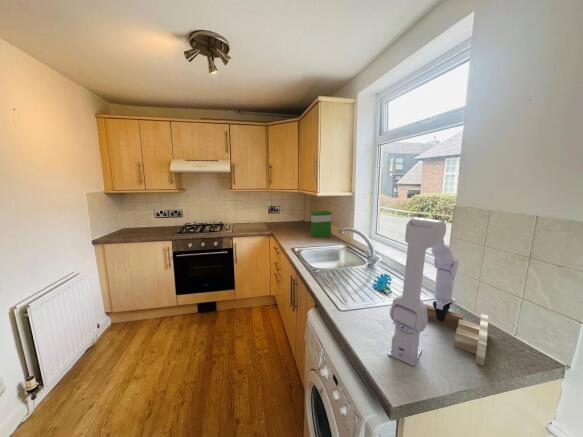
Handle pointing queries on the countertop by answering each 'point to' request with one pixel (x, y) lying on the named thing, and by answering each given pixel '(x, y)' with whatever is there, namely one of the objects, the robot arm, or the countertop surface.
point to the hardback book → (320, 224)
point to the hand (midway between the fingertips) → (440, 318)
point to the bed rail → (449, 320)
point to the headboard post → (473, 337)
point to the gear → (382, 282)
